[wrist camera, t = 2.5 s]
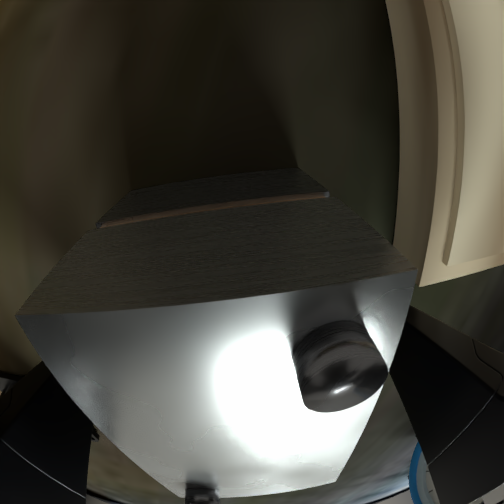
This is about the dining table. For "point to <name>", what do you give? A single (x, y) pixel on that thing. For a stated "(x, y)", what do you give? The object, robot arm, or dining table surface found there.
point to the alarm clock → (423, 481)
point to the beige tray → (450, 135)
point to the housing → (226, 330)
